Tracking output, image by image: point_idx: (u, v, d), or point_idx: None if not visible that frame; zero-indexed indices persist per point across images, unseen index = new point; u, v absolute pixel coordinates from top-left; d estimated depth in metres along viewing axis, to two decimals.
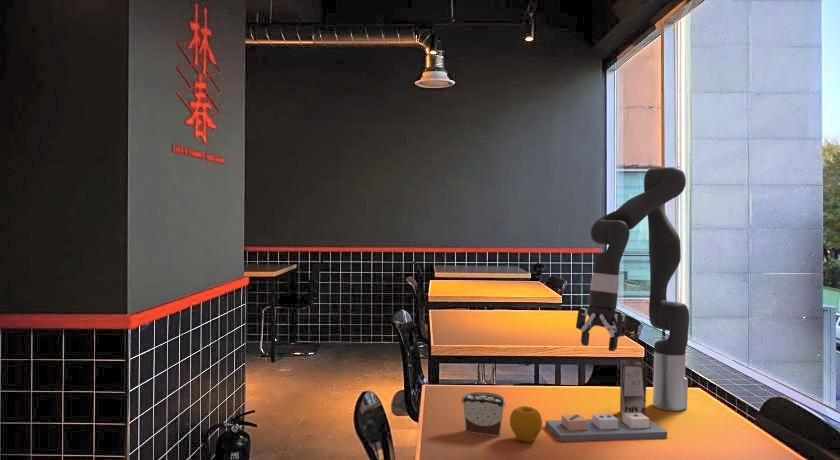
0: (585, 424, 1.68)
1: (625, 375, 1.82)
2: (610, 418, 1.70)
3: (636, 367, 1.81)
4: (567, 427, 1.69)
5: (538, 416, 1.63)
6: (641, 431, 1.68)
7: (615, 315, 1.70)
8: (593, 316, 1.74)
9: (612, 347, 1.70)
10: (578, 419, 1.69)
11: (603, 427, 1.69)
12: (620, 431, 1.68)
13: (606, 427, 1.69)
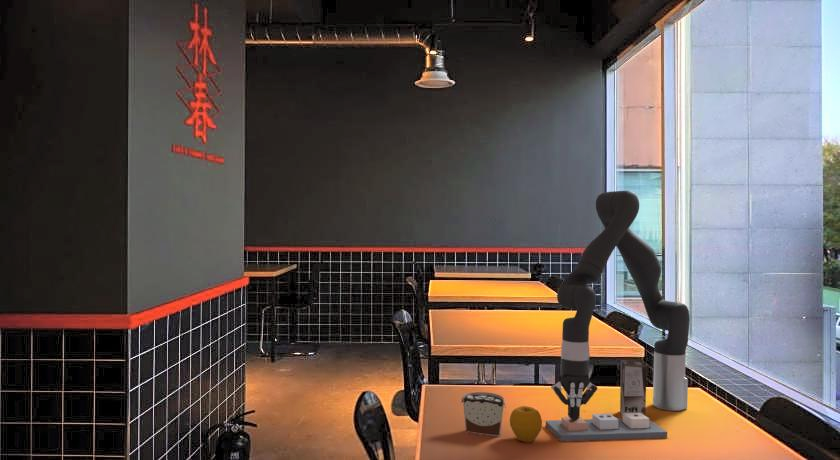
0: (585, 426, 1.68)
1: (625, 375, 1.82)
2: (610, 418, 1.70)
3: (636, 367, 1.81)
4: (567, 429, 1.69)
5: (538, 416, 1.63)
6: (641, 431, 1.68)
7: (590, 383, 1.71)
8: (573, 386, 1.68)
9: (578, 416, 1.70)
10: (578, 421, 1.69)
11: (603, 427, 1.69)
12: (620, 431, 1.68)
13: (606, 427, 1.69)
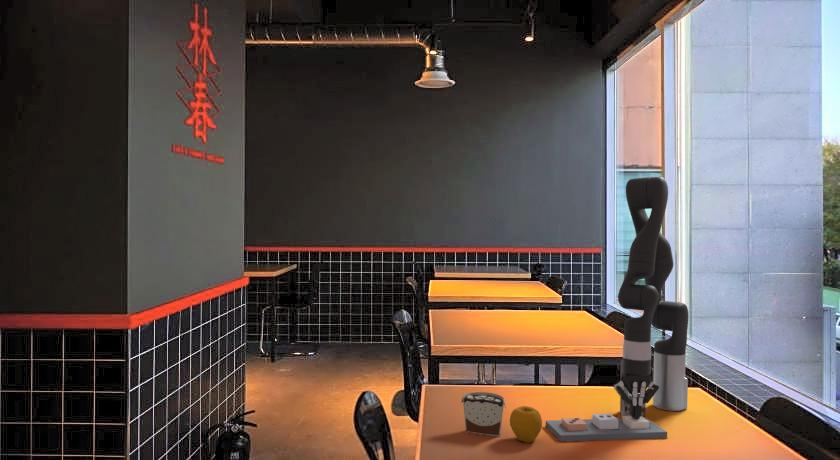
0: (585, 427, 1.68)
1: None
2: (610, 418, 1.70)
3: None
4: (567, 430, 1.69)
5: (538, 416, 1.63)
6: (641, 431, 1.68)
7: (651, 383, 1.73)
8: (635, 385, 1.71)
9: (639, 415, 1.72)
10: (578, 422, 1.69)
11: (603, 427, 1.69)
12: (620, 431, 1.68)
13: (606, 427, 1.69)
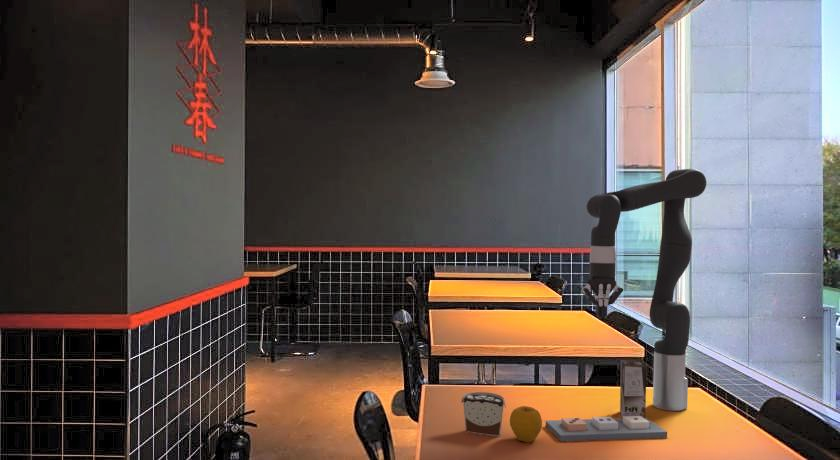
0: (585, 427, 1.68)
1: (625, 375, 1.82)
2: (610, 421, 1.70)
3: (636, 367, 1.81)
4: (567, 430, 1.69)
5: (538, 416, 1.63)
6: (641, 431, 1.68)
7: (616, 286, 1.87)
8: (601, 287, 1.85)
9: (605, 315, 1.86)
10: (578, 422, 1.69)
11: None
12: (620, 431, 1.68)
13: None
